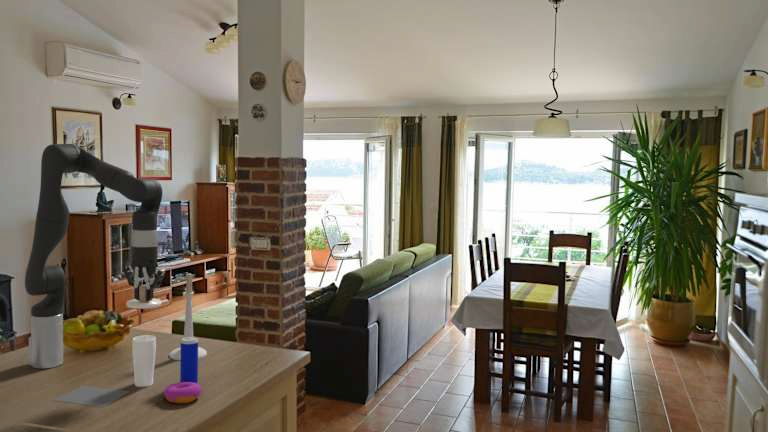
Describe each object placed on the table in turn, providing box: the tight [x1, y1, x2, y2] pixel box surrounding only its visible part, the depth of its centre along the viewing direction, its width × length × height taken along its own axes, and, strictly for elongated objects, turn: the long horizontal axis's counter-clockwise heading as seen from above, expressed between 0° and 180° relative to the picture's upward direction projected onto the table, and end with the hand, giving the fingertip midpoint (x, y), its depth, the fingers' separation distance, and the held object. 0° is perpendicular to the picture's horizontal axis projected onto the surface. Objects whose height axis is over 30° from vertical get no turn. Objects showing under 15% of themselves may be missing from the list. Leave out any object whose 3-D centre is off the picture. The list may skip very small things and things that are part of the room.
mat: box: [53, 385, 130, 408], centre depth 174 cm, size 16×12×1 cm
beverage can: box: [179, 336, 199, 384], centre depth 186 cm, size 5×5×15 cm
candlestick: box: [169, 273, 208, 362], centre depth 215 cm, size 13×13×30 cm
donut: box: [163, 382, 202, 404], centre depth 176 cm, size 10×10×5 cm
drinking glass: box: [131, 334, 157, 388], centre depth 185 cm, size 7×7×15 cm
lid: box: [125, 284, 162, 310], centre depth 183 cm, size 10×10×6 cm
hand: (144, 300), depth 183 cm, fingers closed on lid, 2 cm apart
